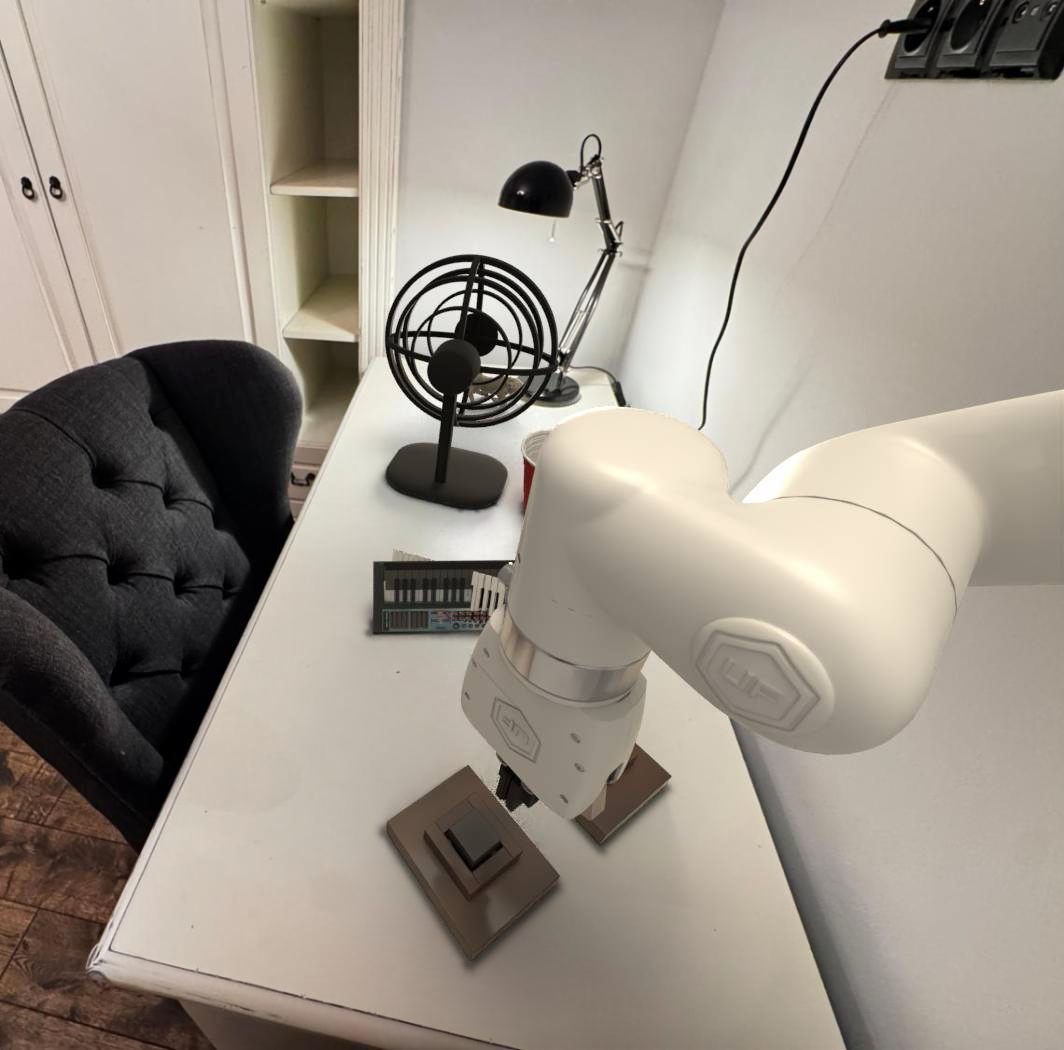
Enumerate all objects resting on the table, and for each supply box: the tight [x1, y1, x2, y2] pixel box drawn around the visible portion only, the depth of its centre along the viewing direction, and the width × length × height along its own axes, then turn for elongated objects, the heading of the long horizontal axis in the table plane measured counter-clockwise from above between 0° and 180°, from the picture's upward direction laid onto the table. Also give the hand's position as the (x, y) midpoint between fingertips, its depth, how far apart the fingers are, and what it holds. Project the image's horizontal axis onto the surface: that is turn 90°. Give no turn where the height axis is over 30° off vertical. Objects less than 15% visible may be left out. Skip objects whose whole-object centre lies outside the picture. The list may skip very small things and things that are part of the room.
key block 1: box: [385, 764, 561, 961], centre depth 51 cm, size 12×10×4 cm
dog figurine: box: [468, 373, 527, 408], centre depth 117 cm, size 12×6×7 cm, turn 74°
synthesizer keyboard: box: [372, 548, 515, 633], centre depth 71 cm, size 22×10×10 cm
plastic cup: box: [520, 428, 553, 513], centre depth 87 cm, size 11×11×12 cm
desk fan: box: [384, 253, 560, 509], centre depth 88 cm, size 27×18×35 cm, turn 67°
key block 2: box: [574, 742, 673, 845], centre depth 58 cm, size 12×10×4 cm
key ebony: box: [448, 808, 502, 869], centre depth 49 cm, size 3×3×2 cm
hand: (517, 792), depth 42 cm, fingers closed
